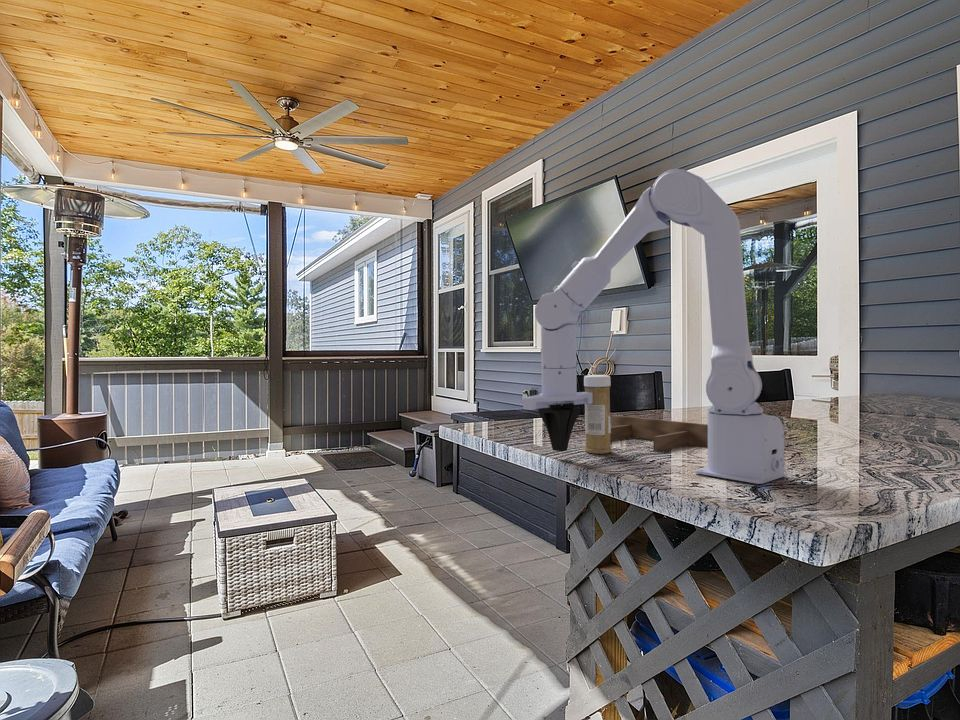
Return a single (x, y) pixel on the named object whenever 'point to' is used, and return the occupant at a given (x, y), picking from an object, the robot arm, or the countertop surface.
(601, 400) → the sprinkles bottle
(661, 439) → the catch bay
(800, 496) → the countertop surface
